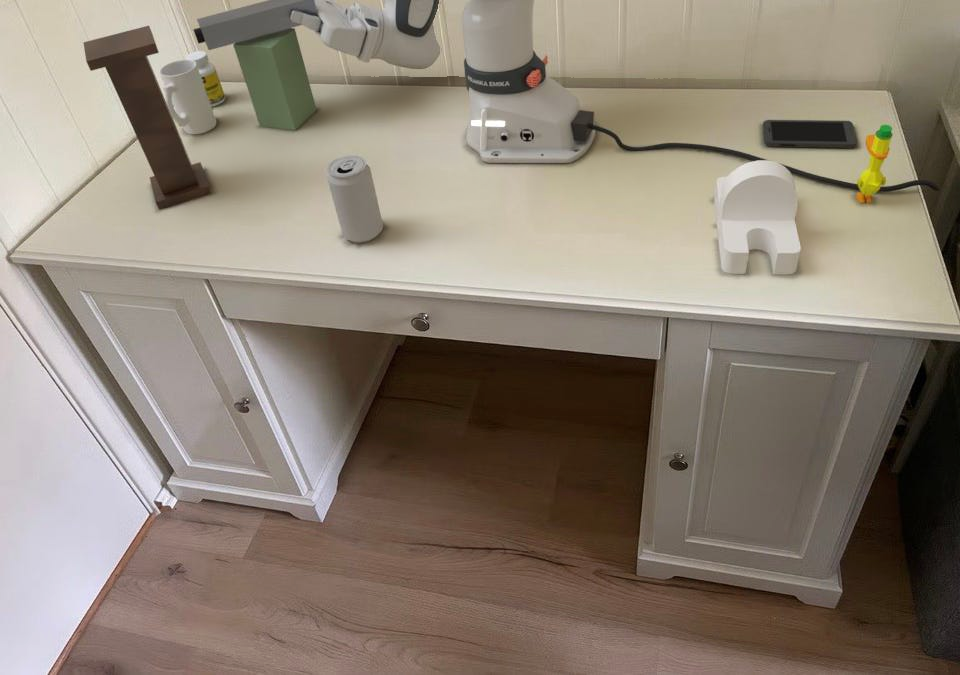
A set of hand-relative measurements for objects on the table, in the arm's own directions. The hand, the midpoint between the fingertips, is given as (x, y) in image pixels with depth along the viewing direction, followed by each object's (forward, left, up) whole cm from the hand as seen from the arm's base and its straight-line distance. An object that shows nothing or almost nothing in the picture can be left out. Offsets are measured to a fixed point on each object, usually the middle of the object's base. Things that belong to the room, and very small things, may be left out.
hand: (287, 9), depth 139 cm
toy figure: (-98, +9, -20) cm, 101 cm away
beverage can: (-28, +34, -20) cm, 48 cm away
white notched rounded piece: (-84, +21, -20) cm, 89 cm away
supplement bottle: (+24, +1, -20) cm, 31 cm away
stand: (+10, +30, -19) cm, 37 cm away
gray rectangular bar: (+4, +4, -2) cm, 6 cm away
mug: (+20, +12, -20) cm, 30 cm away
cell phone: (-89, -7, -19) cm, 92 cm away
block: (+4, +4, -19) cm, 20 cm away
